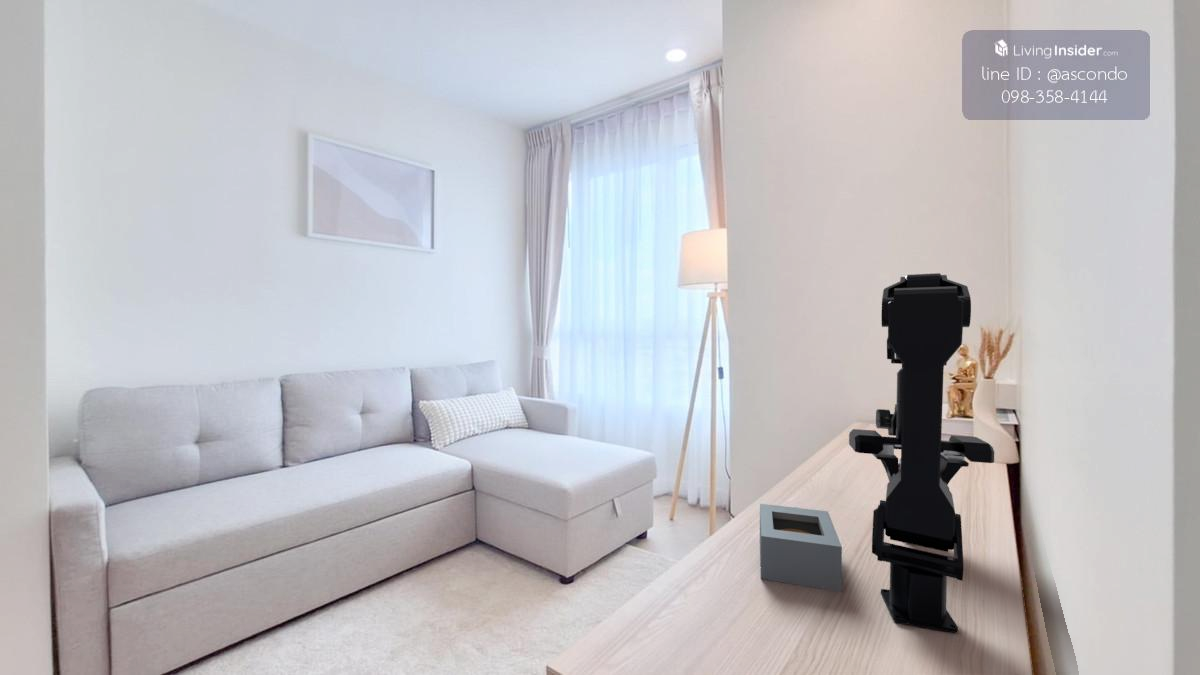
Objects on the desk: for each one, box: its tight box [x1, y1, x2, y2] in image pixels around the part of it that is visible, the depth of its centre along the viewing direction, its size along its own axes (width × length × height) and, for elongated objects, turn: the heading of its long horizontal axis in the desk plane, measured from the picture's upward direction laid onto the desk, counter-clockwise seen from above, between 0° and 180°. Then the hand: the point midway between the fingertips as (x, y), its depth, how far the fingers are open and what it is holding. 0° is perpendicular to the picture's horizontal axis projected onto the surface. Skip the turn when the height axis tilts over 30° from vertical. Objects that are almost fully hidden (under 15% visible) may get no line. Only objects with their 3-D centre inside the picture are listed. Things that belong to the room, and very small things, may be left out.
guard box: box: [759, 503, 843, 593], centre depth 68 cm, size 12×10×6 cm
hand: (915, 497), depth 76 cm, fingers closed on soda can, 5 cm apart
